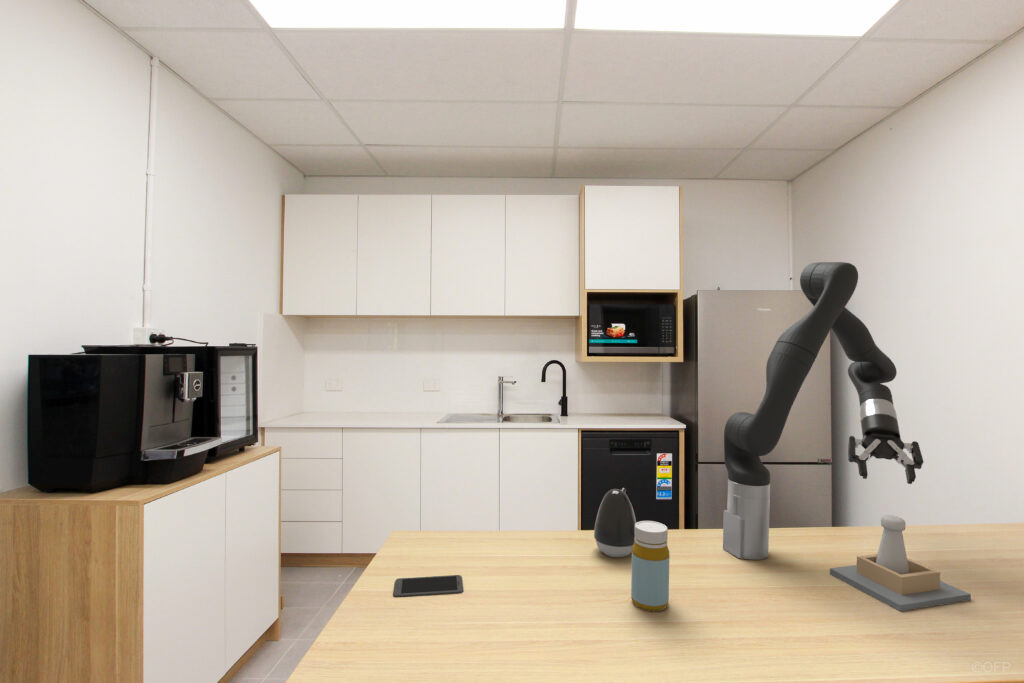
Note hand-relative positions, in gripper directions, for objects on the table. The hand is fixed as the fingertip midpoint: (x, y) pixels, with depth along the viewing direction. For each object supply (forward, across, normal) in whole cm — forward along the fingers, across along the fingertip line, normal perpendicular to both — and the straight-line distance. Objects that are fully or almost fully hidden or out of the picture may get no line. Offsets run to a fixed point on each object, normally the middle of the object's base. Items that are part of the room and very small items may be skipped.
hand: (887, 479), depth 121 cm
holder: (+22, 0, +6) cm, 23 cm away
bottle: (+43, -45, -16) cm, 65 cm away
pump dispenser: (+29, -57, -1) cm, 64 cm away
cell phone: (+53, -87, -25) cm, 105 cm away
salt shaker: (+21, -1, +6) cm, 21 cm away
